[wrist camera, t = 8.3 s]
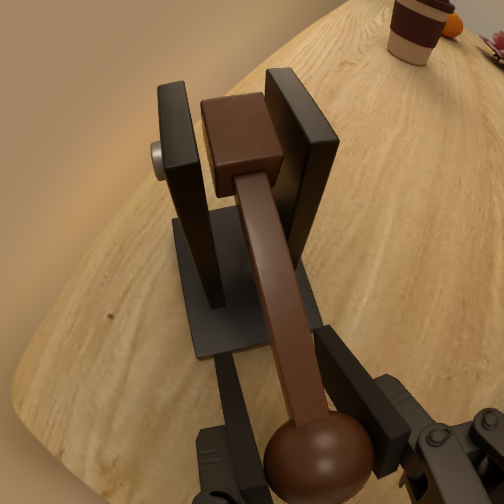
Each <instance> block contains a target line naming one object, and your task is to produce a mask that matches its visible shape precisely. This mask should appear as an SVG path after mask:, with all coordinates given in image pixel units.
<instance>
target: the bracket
mask: <svg viewBox="0 0 504 504" xmlns="http://www.w3.org/2000/svg"><path fill="white" fill-rule="evenodd" d="M157 97H158V115H159V129H160V141H157V142H153V143H151V157H152V163H153V168H154V172H155V175H156V178H157V179H158V181H163V180H166V181H167V185H168V188H169V191H170V194H171V197H172V200H173V203H174V206H175V210H176V213H177V216H178V218H174V219H172V225H173V232H174V239H175V246H176V253H177V259H178V265H179V271H180V277H181V283H182V289H183V294H184V300H185V305H186V310H187V316H188V321H189V326H190V331H191V336H192V341H193V345H194V350H195V355H196V358H197V359H198V360H205V359H210V358H214V354H218V353H223V352H227V351H231V352H232V354H233V353H237V352H241V351H245V350H250V349H254V348H258V347H262V346H266V345H270V340H269V336H268V332H267V328H266V324H265V320H264V316H263V312H262V308H261V304H260V300H259V296H258V292H257V288H256V284H255V280H254V276H253V271H252V267H251V263H250V259H249V255H248V251H247V247H246V243H245V239H244V235H243V231H242V227H241V223H240V219H239V215H238V210H237V206H236V205H235V206H230V207H225V208H220V209H216V210H211V211H208V205H207V200H206V194H205V188H204V182H203V176H202V170H201V164H200V158H199V154H198V149H197V144H196V139H195V134H194V129H193V124H192V119H191V114H190V109H189V103H188V98H187V93H186V88H185V83H184V81H178V82H173V83H168V84H163V85H159V86H158V87H157ZM264 98H265V100H266V103H267V106H268V108H269V111H270V114H271V117H272V119H273V122H274V125H275V128H276V131H277V133H278V136H279V139H280V142H281V145H282V148H283V151H284V154H285V156H284V160H283V163H282V166H281V169H280V172H279V175H278V178H277V181H276V184H275V187H274V188H271V189H272V193H273V196H274V199H275V203H276V206H277V210H278V213H279V217H280V220H281V224H282V227H283V231H284V235H285V238H286V242H287V245H288V249H289V253H290V256H291V260H292V264H293V267H294V271H295V275H296V279H297V282H298V286H299V290H300V294H301V298H302V302H303V306H304V309H305V313H306V317H307V321H308V325H309V329H310V333H313V329H316V328H319V327H322V326H324V325H323V322H322V319H321V316H320V313H319V310H318V307H317V304H316V301H315V298H314V295H313V292H312V289H311V286H310V283H309V280H308V277H307V274H306V271H305V269H304V266H303V263H302V260H301V255H302V252H303V250H304V247H305V244H306V241H307V238H308V236H309V233H310V230H311V227H312V224H313V221H314V219H315V216H316V213H317V210H318V207H319V204H320V201H321V198H322V195H323V192H324V189H325V186H326V183H327V180H328V177H329V174H330V171H331V168H332V165H333V162H334V159H335V156H336V153H337V149H338V146H339V143H340V140H339V138H338V136H337V135H336V133H335V132H334V130H333V128H332V127H331V125H330V124H329V122H328V121H327V119H326V118H325V116H324V115H323V113H322V112H321V110H320V109H319V107H318V106H317V104H316V103H315V101H314V100H313V98H312V97H311V95H310V94H309V93H308V91H307V90H306V88H305V87H304V85H303V84H302V83H301V81H300V80H299V79H298V77H297V76H296V74H295V73H294V72H293V70H292V69H291V68H273V69H267V70H266V80H265V97H264Z"/></svg>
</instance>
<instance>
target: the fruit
mask: <svg viewBox="0 0 504 504" xmlns="http://www.w3.org/2000/svg"><path fill="white" fill-rule="evenodd" d="M462 31H463V24H462V21H461V19H460V18H459V17H458V16H457V14H456V13H455V12H454V13H453V14H449V15H448V17H447V20H446V25H445V27H444V30H443V32H442V34H441V35H443V36H446V37H456V36H458V35H460V34H461V32H462Z"/></svg>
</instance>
